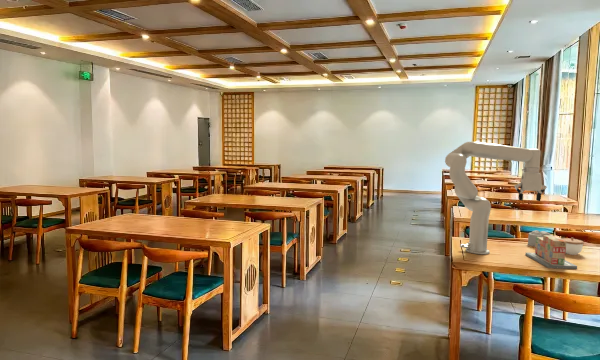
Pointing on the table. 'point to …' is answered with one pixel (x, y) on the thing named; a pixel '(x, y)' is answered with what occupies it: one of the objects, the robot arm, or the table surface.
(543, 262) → the foundation board
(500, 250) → the table surface
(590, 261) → the table surface
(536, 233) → the grey bumpy block
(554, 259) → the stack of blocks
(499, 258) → the table surface
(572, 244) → the lidded jar
